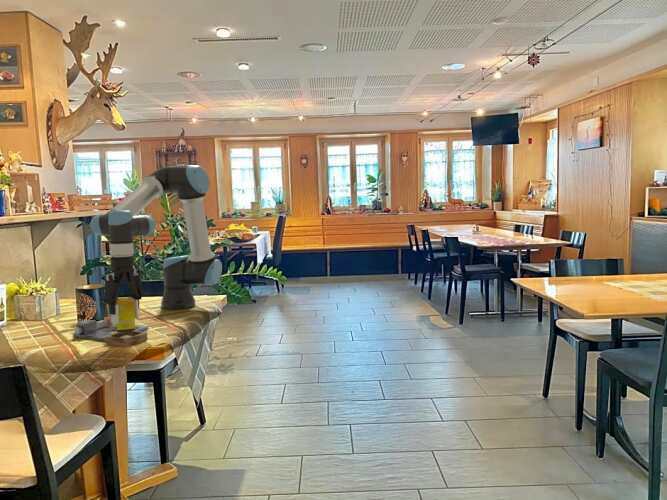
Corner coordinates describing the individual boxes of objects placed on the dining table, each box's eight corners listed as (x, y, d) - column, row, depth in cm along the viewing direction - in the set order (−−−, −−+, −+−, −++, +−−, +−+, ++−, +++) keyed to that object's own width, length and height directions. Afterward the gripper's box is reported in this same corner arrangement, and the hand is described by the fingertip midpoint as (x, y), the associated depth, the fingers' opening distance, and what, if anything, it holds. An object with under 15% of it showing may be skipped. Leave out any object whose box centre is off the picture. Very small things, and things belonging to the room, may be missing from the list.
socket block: (113, 324, 196) (112, 312, 196) (148, 329, 189) (147, 316, 188) (73, 336, 180) (72, 323, 180) (109, 342, 173) (108, 328, 172)
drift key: (106, 324, 191) (105, 316, 191) (111, 325, 190) (111, 317, 190) (74, 333, 179) (73, 325, 178) (79, 334, 177) (79, 326, 177)
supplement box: (116, 328, 174) (114, 297, 173) (134, 326, 177) (133, 296, 176) (116, 332, 169) (114, 301, 168) (135, 330, 171) (134, 299, 170)
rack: (127, 336, 180) (126, 329, 179) (147, 339, 176) (147, 332, 175) (105, 343, 171) (104, 336, 171) (125, 347, 167) (125, 339, 167)
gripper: (137, 252, 181) (140, 313, 183) (88, 258, 162) (92, 326, 165) (153, 252, 178) (155, 315, 180) (104, 259, 159) (108, 328, 161)
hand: (125, 320), depth 172 cm, fingers closed on supplement box, 8 cm apart
